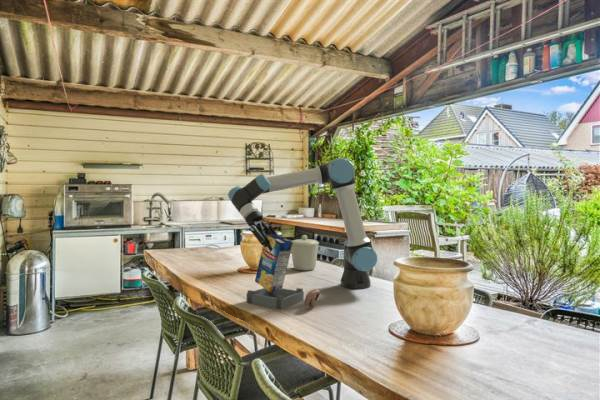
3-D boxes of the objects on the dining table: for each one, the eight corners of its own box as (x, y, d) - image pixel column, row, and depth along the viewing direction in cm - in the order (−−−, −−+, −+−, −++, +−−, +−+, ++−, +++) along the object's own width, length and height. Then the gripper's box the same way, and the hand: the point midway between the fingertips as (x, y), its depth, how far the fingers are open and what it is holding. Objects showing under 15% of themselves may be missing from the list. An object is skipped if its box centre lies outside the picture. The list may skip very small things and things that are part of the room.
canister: (319, 272, 243) (319, 236, 242) (289, 272, 243) (289, 236, 242) (318, 266, 261) (318, 233, 260) (290, 266, 261) (290, 233, 261)
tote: (303, 300, 180) (303, 288, 180) (282, 309, 167) (282, 296, 167) (269, 294, 191) (269, 283, 191) (246, 302, 177) (246, 290, 177)
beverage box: (269, 291, 174) (281, 243, 170) (254, 281, 182) (265, 234, 178) (281, 290, 179) (293, 242, 175) (266, 279, 187) (277, 233, 183)
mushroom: (307, 311, 163) (307, 291, 163) (300, 308, 169) (300, 288, 169) (323, 309, 167) (323, 289, 167) (316, 305, 172) (316, 286, 172)
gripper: (259, 219, 194) (287, 257, 185) (234, 222, 179) (264, 263, 171) (268, 208, 190) (297, 247, 182) (243, 210, 176) (274, 251, 168)
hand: (281, 255), depth 176 cm, fingers closed on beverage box, 4 cm apart
